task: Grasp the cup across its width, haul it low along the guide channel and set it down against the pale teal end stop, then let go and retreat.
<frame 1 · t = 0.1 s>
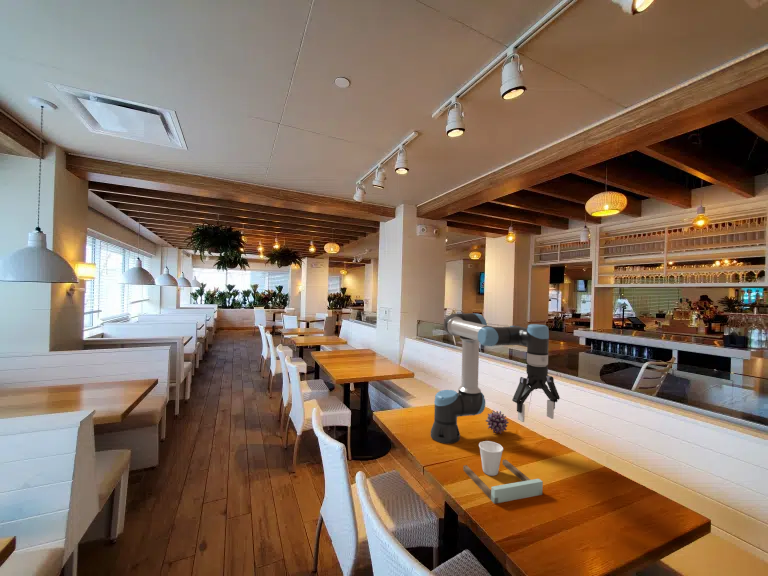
hand: (535, 419, 126), 28 cm above the table, fingers open, 13 cm apart
cup: (490, 472, 138), on the table
stop: (517, 497, 122), on the table
flower: (496, 433, 176), on the table
channel: (500, 481, 131), on the table
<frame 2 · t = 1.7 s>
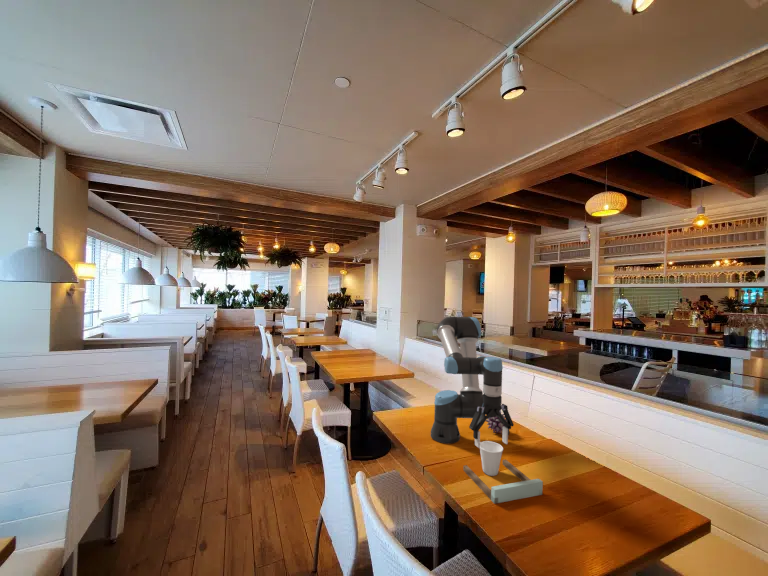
hand: (491, 444, 138), 12 cm above the table, fingers open, 13 cm apart
nothing on the table moved.
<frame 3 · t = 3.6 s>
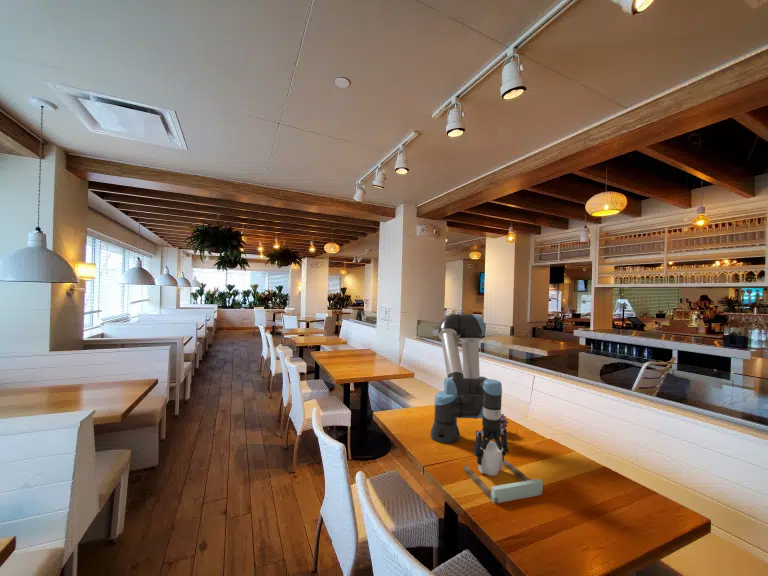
hand: (490, 470, 138), 1 cm above the table, fingers closed on cup, 8 cm apart
cup: (490, 472, 138), on the table, touching gripper
everything else where it was.
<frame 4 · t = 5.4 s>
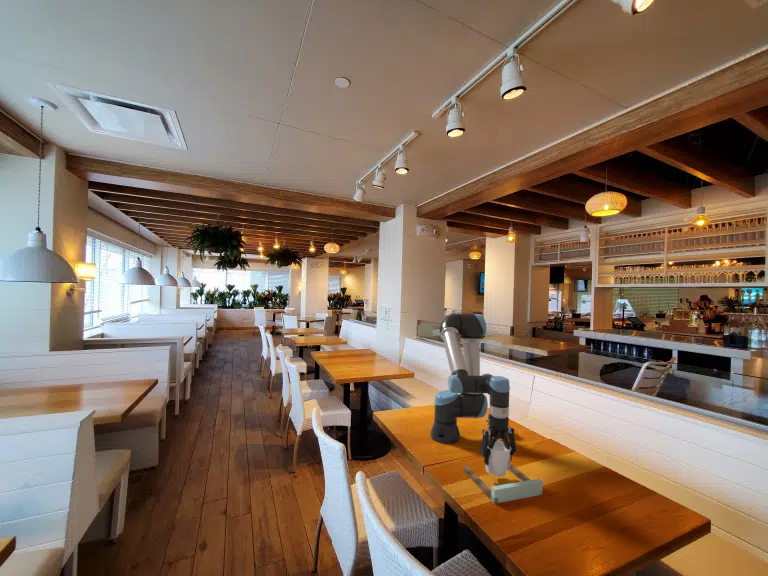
hand: (497, 470, 133), 4 cm above the table, fingers closed on cup, 8 cm apart
cup: (497, 473, 133), point 3 cm above the table, touching gripper
everything else where it was.
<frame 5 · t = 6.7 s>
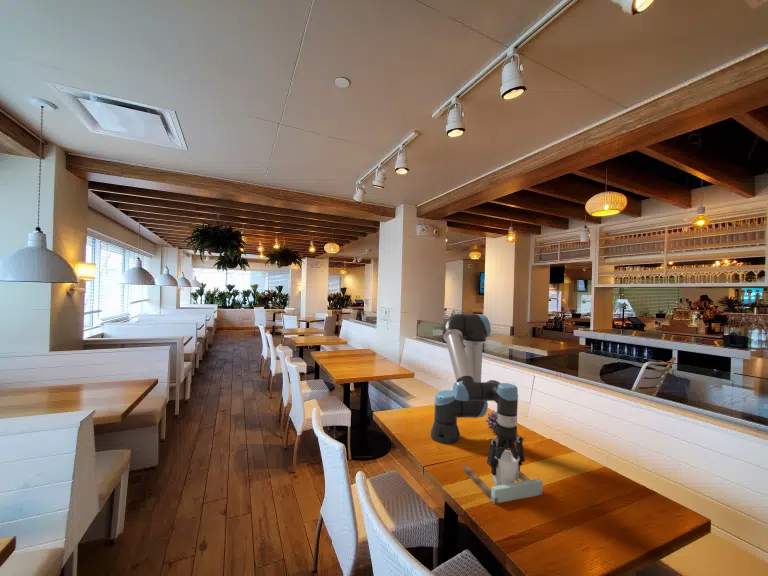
hand: (505, 481, 128), 2 cm above the table, fingers closed on cup, 8 cm apart
cup: (505, 483, 128), point 1 cm above the table, touching gripper
everything else where it was.
when the fingers open (1 cm above the table, at t = 7.6 s): cup stays where it is, on the table.
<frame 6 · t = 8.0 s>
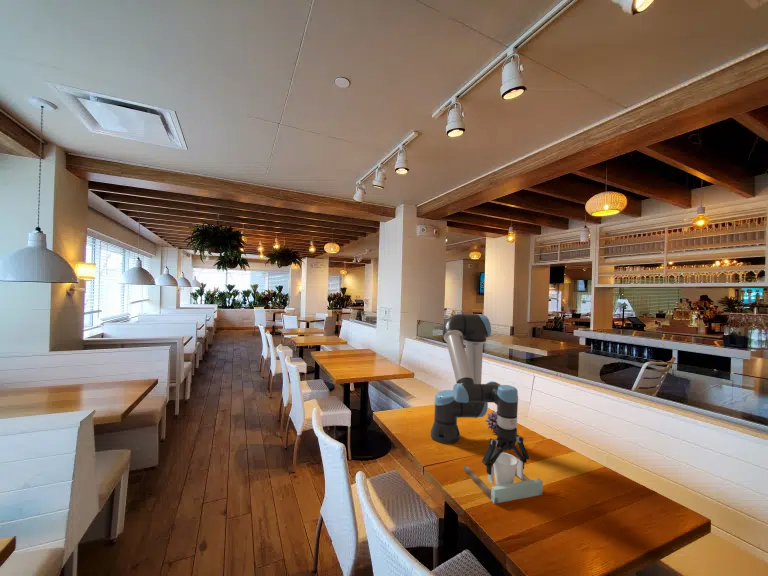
hand: (505, 479, 128), 3 cm above the table, fingers open, 13 cm apart
cup: (504, 486, 128), on the table
everything else where it was.
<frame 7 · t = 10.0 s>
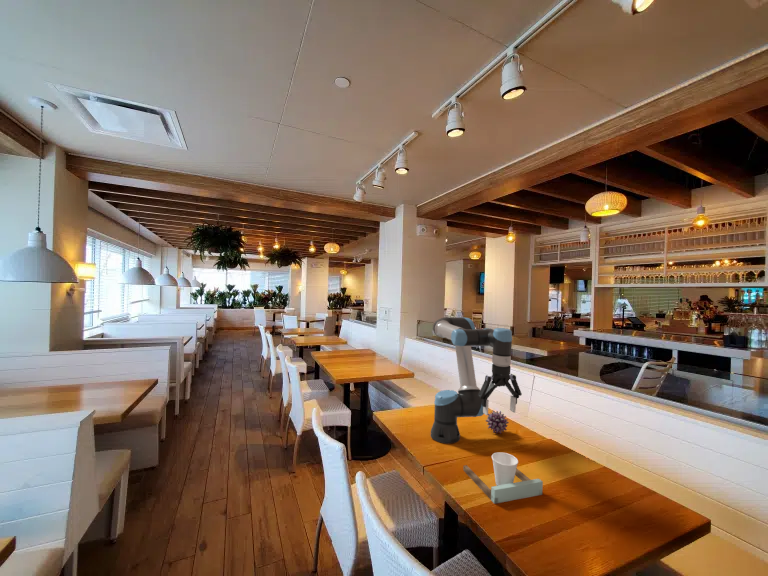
hand: (499, 412, 141), 24 cm above the table, fingers open, 13 cm apart
nothing on the table moved.
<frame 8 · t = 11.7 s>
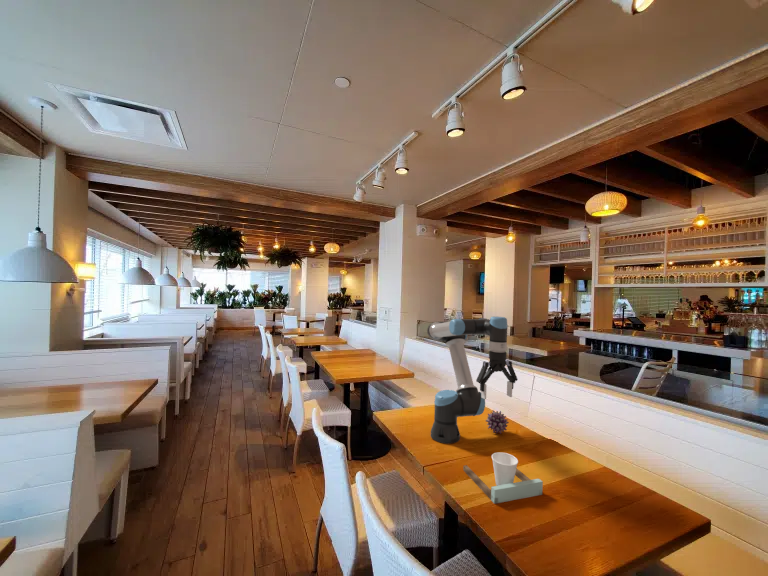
hand: (496, 397, 148), 29 cm above the table, fingers open, 13 cm apart
nothing on the table moved.
at the end: cup inside the target area (1.0 cm from its centre), on the table; cup tilted 0°; the gripper is holding nothing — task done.
